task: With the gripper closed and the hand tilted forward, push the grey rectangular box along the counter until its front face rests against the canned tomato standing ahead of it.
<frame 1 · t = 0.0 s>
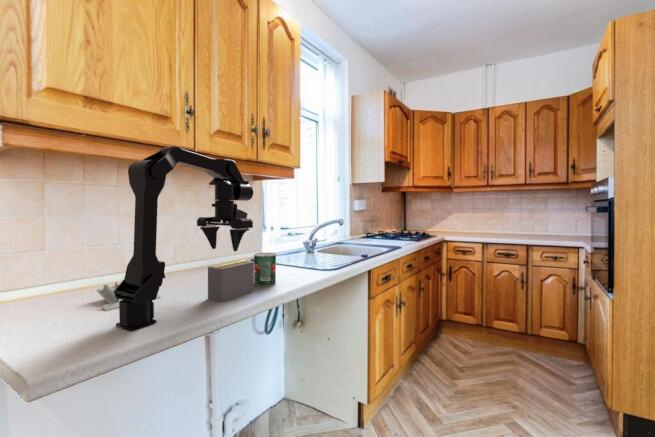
hand: (224, 250, 104), 15 cm above the worktop, tool pointing down, fingers open, 9 cm apart
grey rectangular box: (231, 295, 106), on the worktop
canned tomato: (264, 284, 120), on the worktop
metal bracket: (125, 302, 99), on the worktop
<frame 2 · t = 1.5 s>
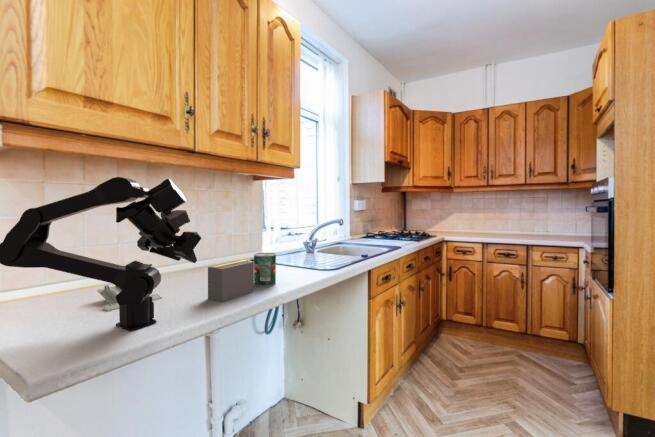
hand: (187, 260, 91), 14 cm above the worktop, tool tilted 45°, fingers open, 6 cm apart
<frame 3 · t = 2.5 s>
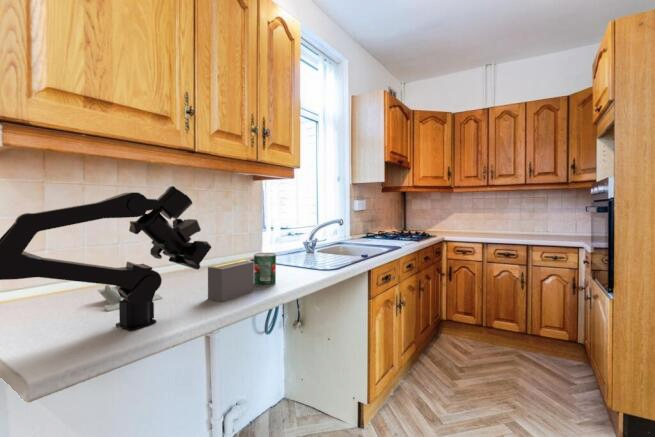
hand: (198, 268, 93), 11 cm above the worktop, tool tilted 45°, fingers closed
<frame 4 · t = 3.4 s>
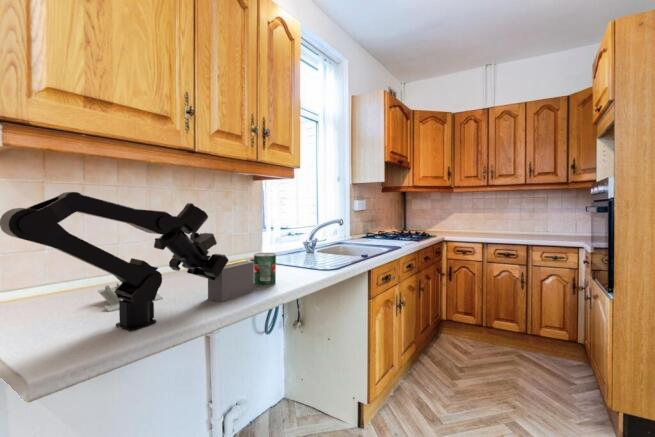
hand: (214, 278, 99), 7 cm above the worktop, tool tilted 45°, fingers closed, pressing on grey rectangular box
grey rectangular box: (231, 295, 106), on the worktop, touching gripper
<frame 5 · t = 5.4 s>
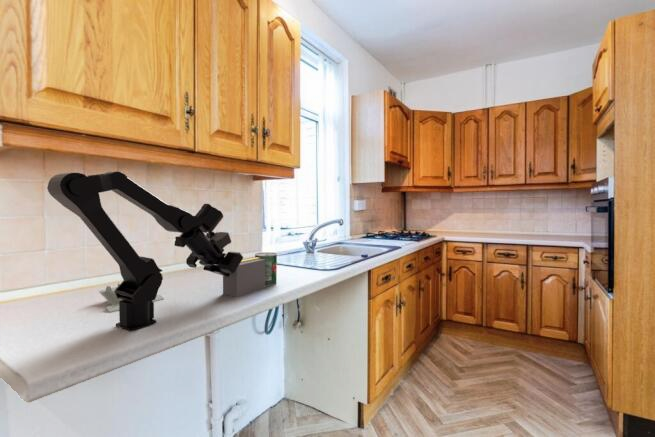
hand: (228, 275, 104), 7 cm above the worktop, tool tilted 45°, fingers closed
grey rectangular box: (245, 290, 111), on the worktop
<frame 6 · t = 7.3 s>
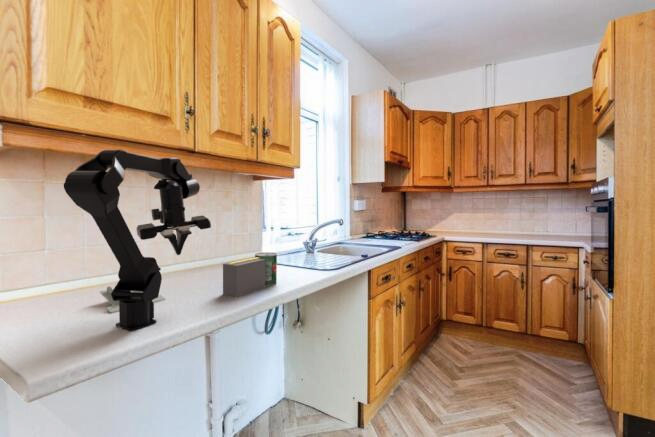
hand: (178, 254, 97), 14 cm above the worktop, tool pointing down, fingers closed
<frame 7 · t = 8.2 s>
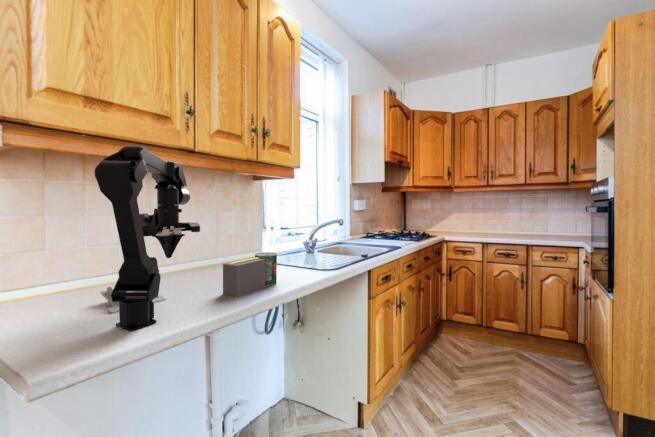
hand: (168, 257, 98), 13 cm above the worktop, tool pointing down, fingers closed
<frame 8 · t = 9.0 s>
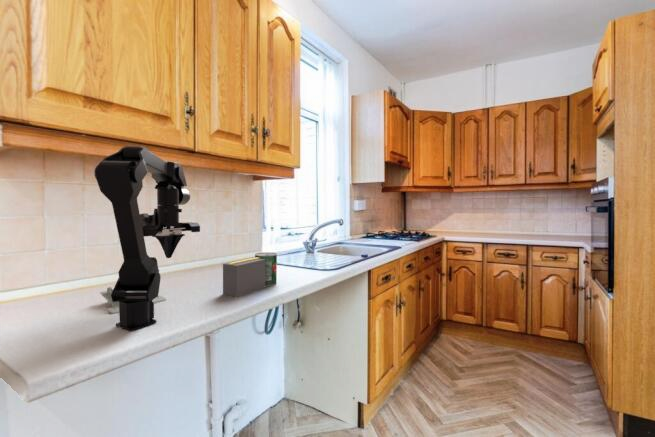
hand: (168, 257, 98), 13 cm above the worktop, tool pointing down, fingers closed
at the end: grey rectangular box 10.9 cm from the canned tomato (horizontally); grey rectangular box tilted 0°; canned tomato moved 0.6 cm from its start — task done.
